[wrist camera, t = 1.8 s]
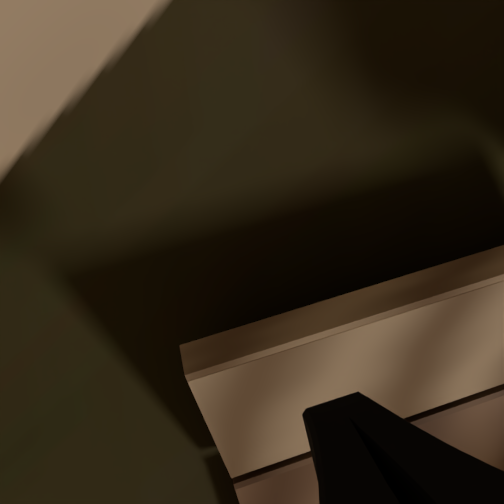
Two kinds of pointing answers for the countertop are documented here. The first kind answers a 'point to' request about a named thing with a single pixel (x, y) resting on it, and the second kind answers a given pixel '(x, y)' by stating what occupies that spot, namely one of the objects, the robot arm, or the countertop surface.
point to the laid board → (432, 421)
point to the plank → (351, 357)
